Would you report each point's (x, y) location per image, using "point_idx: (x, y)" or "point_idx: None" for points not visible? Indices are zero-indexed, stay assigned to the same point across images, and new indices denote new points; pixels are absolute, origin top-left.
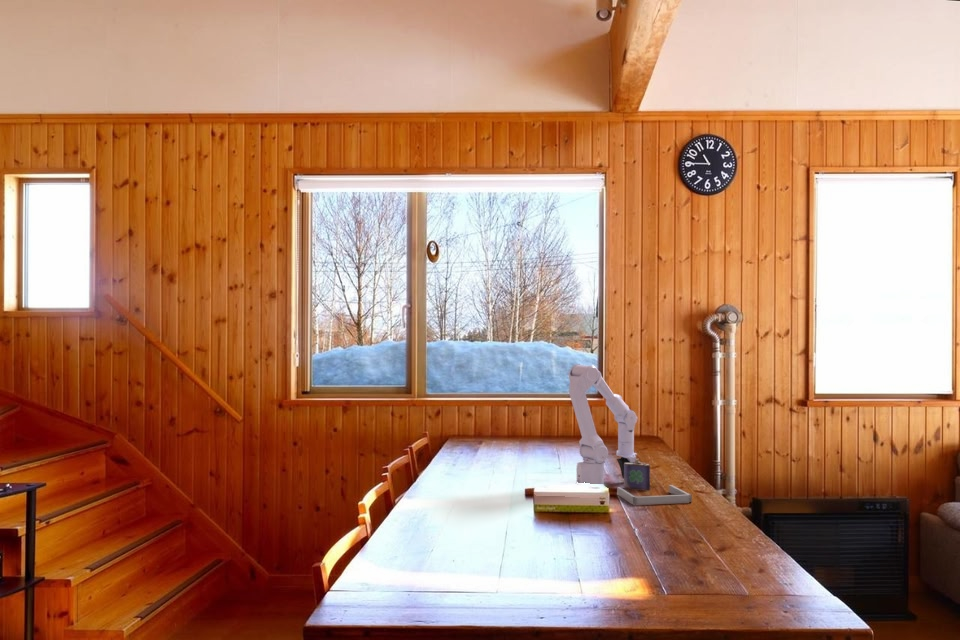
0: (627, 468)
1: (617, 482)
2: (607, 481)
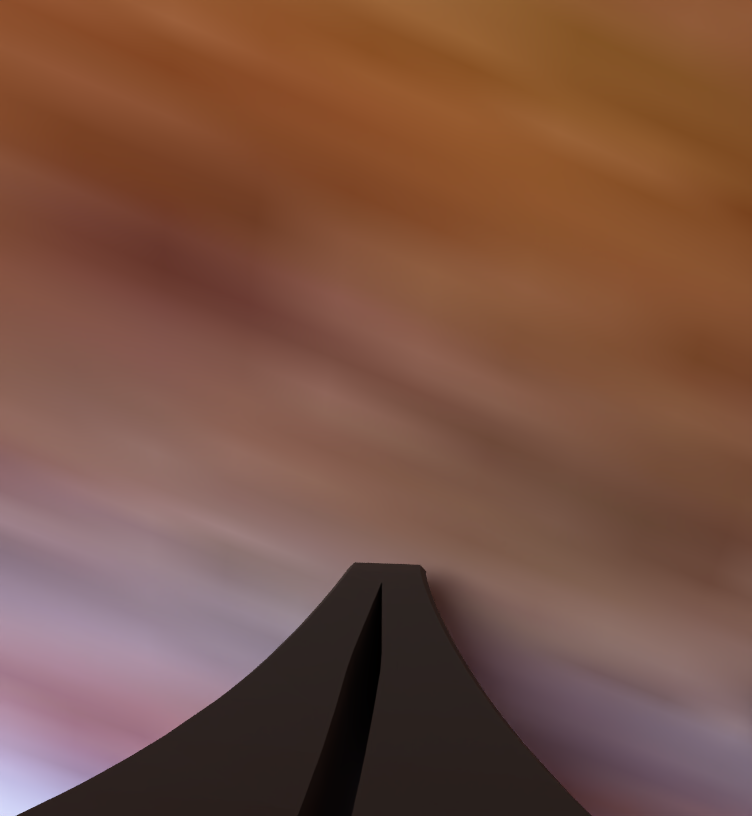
0: None
1: None
2: None
